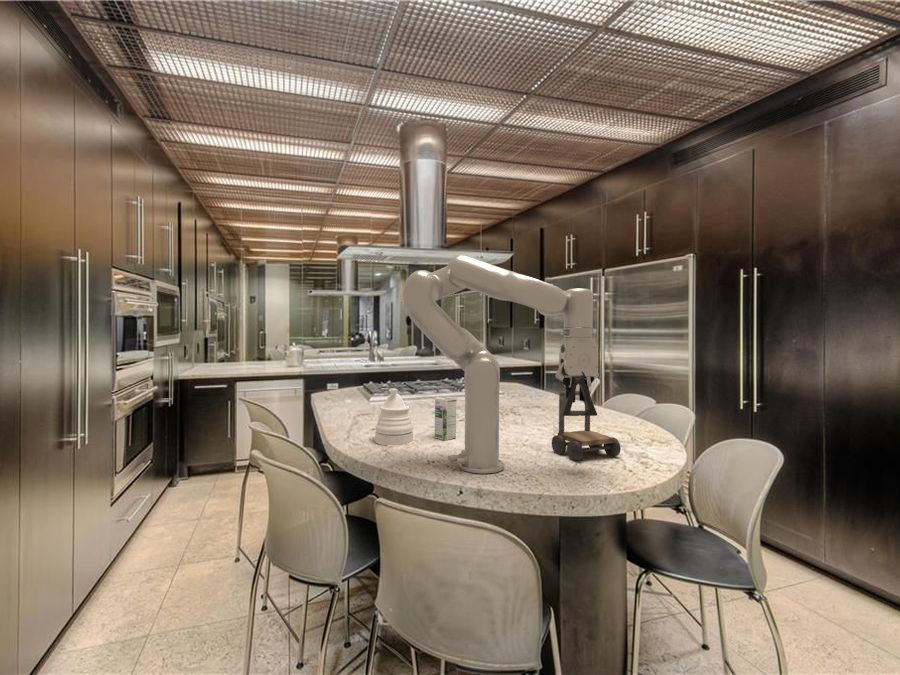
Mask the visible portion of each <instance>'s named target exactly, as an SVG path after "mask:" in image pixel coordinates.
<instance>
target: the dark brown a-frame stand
mask: <svg viewBox="0 0 900 675" xmlns="http://www.w3.org/2000/svg"><path fill="white" fill-rule="evenodd" d="M582 373H583V372H582ZM583 375H584V376H578V378H576V377H573V378H574V382H573V385H572V388H571V390H570V394H569V396H568V398H567V399H566V394H565V397H564V400H563V403H562V406H561V409H560V412H561V413H562V414H563V416H564V417H580V416H581V417H585V416H590V417H593V416H594V417H596V416H598V412H597V409H596V407H595V405H594V402H593V400H592V397H591V395H590V394H589V392H588V389H587V387H586V384H585V380H586V378H585V374H584V373H583ZM577 386H578V387H580V388H581V391H582V394H583V396H584V399H585V402H584V401H583V403H584V410H571V409H572V407H573V404H574V403H573V399H574V395H575V391H577ZM575 396H576V395H575ZM585 408H586V410H585Z"/></svg>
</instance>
